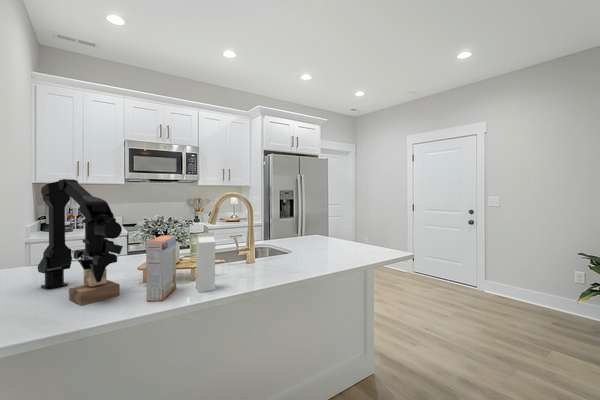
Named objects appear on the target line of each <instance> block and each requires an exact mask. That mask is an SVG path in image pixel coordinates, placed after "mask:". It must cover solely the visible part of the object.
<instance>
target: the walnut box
mask: <svg viewBox="0 0 600 400" xmlns="http://www.w3.org/2000/svg"><path fill="white" fill-rule="evenodd" d="M120 286H121V284H120V283H118V282H114V281H111V280H109V279H106V283H105V284H100V285H96V286H92V287H90V286H87V285H85V284H82V285H77V286H72V287H70V288H68V300H69V301H70V302H72V303H74V304H76V305H79V306H86V305H90V304H92V303H96V302H100V301H104V300H107V299H111V298H114V297H118V296H120V294H121V293H120V290H121V289H120Z"/></svg>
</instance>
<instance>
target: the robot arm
mask: <svg viewBox="0 0 600 400" xmlns="http://www.w3.org/2000/svg"><path fill="white" fill-rule="evenodd" d="M40 190H41V191H40V193H41V195H42V201H43V202H44V203H45V204H46V206H47V207H48V245H47V247H46V248H45V249H44V251H43V255H42V258H41V260H40V261H39V264H38V265H37V271H38V273H40V274H44V284H41V285H40V287H41V288H44V289H45V290H51V289H56V288H61V287H66V286H68V283H67V282H65V279H64V278H65V270H69V269H71V265H72V262H73V261H72V260H73V259H75V260H77V262H78V263H79V264H80V266H81V268H82V269H83V271H84V270H86V269H92V272H93V274H94V277H95V279H96V282H100V281H101V279H102V276H103V273H104V271H105V269H107V267H108V266H109V265H110V264H115V263H118V256H117V255H120V254H121V253H122V250H123V245H120V244H115V243H114V239H117V238H118V237H119V236H121V234H122V232H123V231H122V230H123V229H122V228H123V227H122V225H121V224H120V223H119V222H117V219H116V218H115V215H114V213H113V212H112V210H111V207H110V206H109V203H108V202H107V201H106V200H105V199H102V198H100V197H96V196H93V195H92V194H91V193H90V192H89V191H87V189H85V188H84V187H83V186H81V185H80V184H79V181H78V180H76V179H73V178H72V179H71V178H70V179H69V178H62V179H59V180H57V181H53V182H49V183H46V184H45V185H43V186H42V187H41V189H40ZM71 199H72V200H74V202H76V203H77V205H78V206H79V209H78V210H79V212H80V213H81V215H82V216H83V217H84V219H83V220H82V221H81V223H82V224H84V239H82V243H83V244H84V248H82V249H76V250H75V251H74V252H73V257H72V251H73V250H72V249H71V247H69V246H67V244H66V206H67V205H68V203H69V202H70V200H71ZM109 239H110V240H109ZM112 239H113V240H112ZM116 254H117V255H116Z"/></svg>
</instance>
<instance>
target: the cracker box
mask: <svg viewBox="0 0 600 400" xmlns="http://www.w3.org/2000/svg"><path fill="white" fill-rule="evenodd" d="M145 246H146V247H145V248H146V249H145V250H146V251H145V258H146V259H145V260H146V264H145V265H146V269H145V270H146V302H163V301H165V300H166V299H167V298H168V297H169V295H171V294H172V293H173V292H174V290H175V289H177V235H174V234H173V235H172V234H171V235H168V234H164V235H160V236H158V237H157V236H156V237H153V238H152V239H150V240H148V241H145Z"/></svg>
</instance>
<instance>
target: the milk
mask: <svg viewBox="0 0 600 400" xmlns="http://www.w3.org/2000/svg"><path fill="white" fill-rule="evenodd" d="M214 236H215V235H214V232H199V233H197V239H196V243H195V245H196V248H195V250H196V252H195V253H196V256H195V257H196V258H195V260H196V261H195V289H196V290H197V292H198V293H199V294H200V293H206V292H213V291H215V290H216V289H215V288H216V286H215V285H216V284H215V283H216V239H215V237H214Z"/></svg>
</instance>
